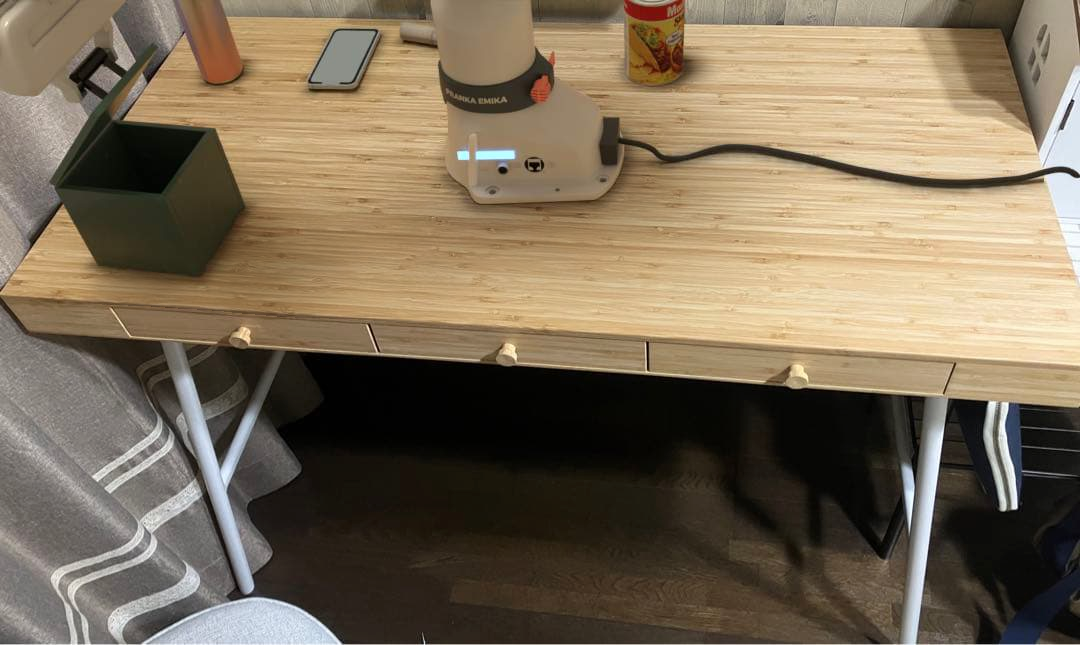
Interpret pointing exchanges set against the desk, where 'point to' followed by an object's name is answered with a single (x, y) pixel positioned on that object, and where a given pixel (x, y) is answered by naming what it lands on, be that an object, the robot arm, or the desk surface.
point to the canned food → (654, 40)
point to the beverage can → (210, 39)
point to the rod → (418, 33)
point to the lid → (106, 106)
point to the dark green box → (153, 197)
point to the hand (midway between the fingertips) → (94, 80)
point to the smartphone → (344, 58)
